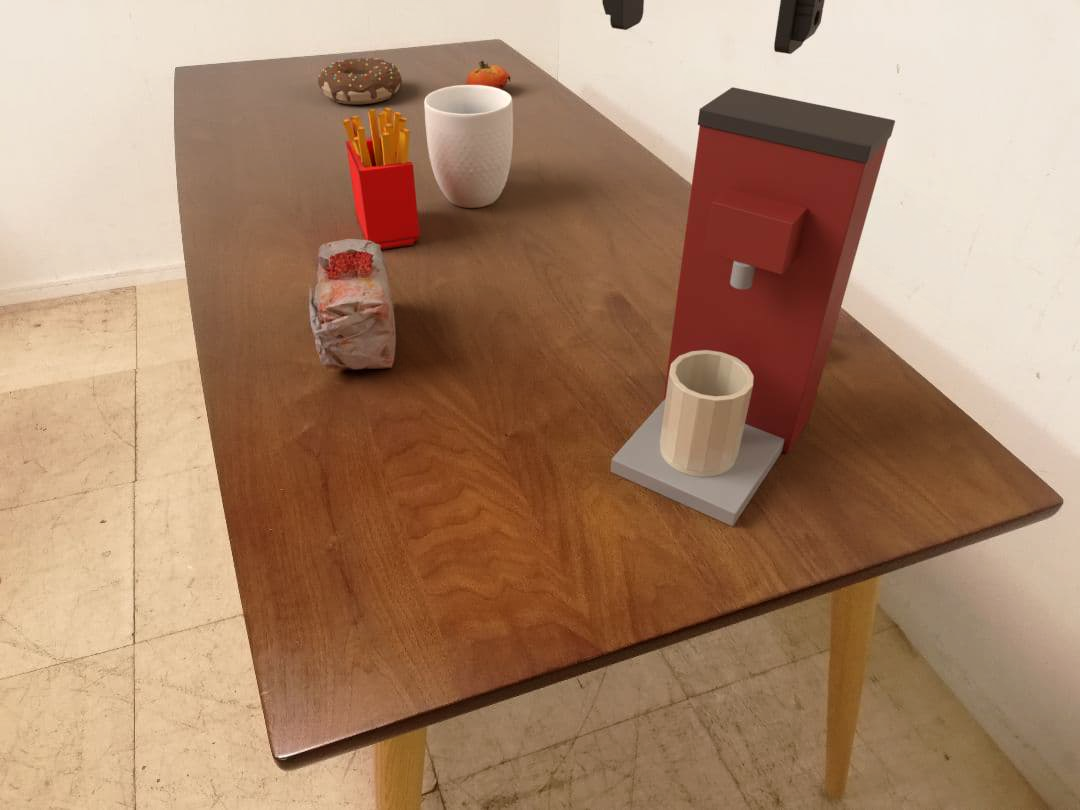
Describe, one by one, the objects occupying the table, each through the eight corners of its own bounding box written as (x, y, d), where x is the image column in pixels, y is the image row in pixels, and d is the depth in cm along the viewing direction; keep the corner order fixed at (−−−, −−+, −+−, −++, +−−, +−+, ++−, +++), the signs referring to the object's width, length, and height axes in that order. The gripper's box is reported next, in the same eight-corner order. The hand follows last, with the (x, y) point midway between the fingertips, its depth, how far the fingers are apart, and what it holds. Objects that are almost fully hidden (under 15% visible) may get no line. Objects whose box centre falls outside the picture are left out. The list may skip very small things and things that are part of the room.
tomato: (500, 71, 146) (505, 48, 139) (515, 106, 145) (520, 84, 138) (458, 84, 144) (460, 60, 137) (472, 119, 144) (475, 97, 136)
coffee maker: (739, 530, 63) (817, 204, 46) (603, 469, 69) (628, 155, 52) (811, 419, 74) (895, 120, 57) (688, 373, 79) (732, 86, 62)
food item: (405, 375, 79) (394, 286, 72) (320, 386, 77) (301, 296, 71) (391, 301, 89) (381, 217, 83) (316, 310, 87) (300, 225, 81)
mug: (445, 167, 117) (438, 73, 109) (521, 171, 116) (521, 76, 108) (423, 214, 105) (414, 112, 97) (508, 218, 105) (506, 116, 96)
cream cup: (739, 432, 70) (755, 356, 65) (734, 483, 65) (751, 405, 60) (664, 420, 71) (674, 345, 66) (654, 469, 67) (664, 392, 61)
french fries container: (408, 212, 106) (398, 102, 97) (425, 244, 99) (415, 130, 90) (354, 219, 104) (338, 109, 95) (367, 253, 97) (351, 137, 88)
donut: (347, 115, 133) (343, 83, 130) (307, 93, 141) (302, 63, 138) (421, 96, 140) (419, 66, 137) (379, 76, 148) (376, 47, 145)
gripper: (982, -456, 28) (875, 36, 39) (623, -412, 35) (614, 1, 45) (926, -484, 24) (821, 84, 34) (523, -428, 30) (538, 37, 41)
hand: (703, 36), depth 40 cm, fingers open, 8 cm apart
